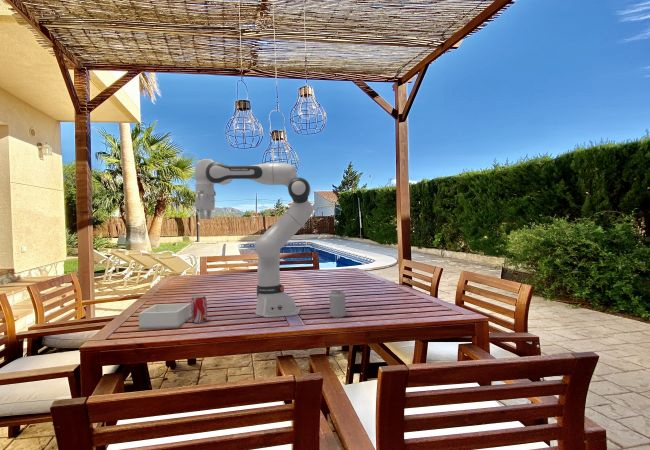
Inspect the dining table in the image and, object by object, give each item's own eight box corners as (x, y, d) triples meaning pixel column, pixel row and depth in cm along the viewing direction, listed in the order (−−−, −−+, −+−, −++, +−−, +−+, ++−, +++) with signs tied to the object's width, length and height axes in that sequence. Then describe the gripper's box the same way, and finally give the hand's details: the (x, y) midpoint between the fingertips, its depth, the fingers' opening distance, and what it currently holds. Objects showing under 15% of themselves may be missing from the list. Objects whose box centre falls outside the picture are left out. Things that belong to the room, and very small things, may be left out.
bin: (191, 317, 183) (190, 303, 183) (177, 327, 166) (177, 312, 166) (155, 318, 182) (155, 304, 182) (139, 328, 165) (138, 313, 165)
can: (347, 314, 182) (346, 290, 182) (343, 318, 175) (342, 293, 175) (332, 313, 184) (332, 289, 184) (327, 317, 177) (327, 292, 177)
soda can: (202, 324, 171) (201, 297, 171) (188, 323, 173) (187, 297, 172) (210, 319, 178) (209, 294, 178) (196, 319, 180) (195, 294, 179)
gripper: (204, 189, 177) (205, 219, 177) (216, 192, 197) (217, 218, 198) (191, 190, 177) (192, 219, 177) (204, 193, 197) (205, 219, 197)
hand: (205, 219), depth 188 cm, fingers open, 8 cm apart
